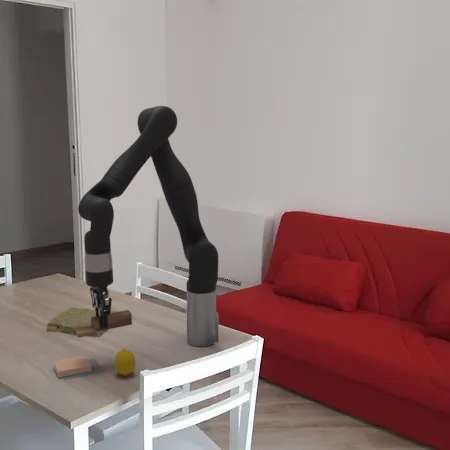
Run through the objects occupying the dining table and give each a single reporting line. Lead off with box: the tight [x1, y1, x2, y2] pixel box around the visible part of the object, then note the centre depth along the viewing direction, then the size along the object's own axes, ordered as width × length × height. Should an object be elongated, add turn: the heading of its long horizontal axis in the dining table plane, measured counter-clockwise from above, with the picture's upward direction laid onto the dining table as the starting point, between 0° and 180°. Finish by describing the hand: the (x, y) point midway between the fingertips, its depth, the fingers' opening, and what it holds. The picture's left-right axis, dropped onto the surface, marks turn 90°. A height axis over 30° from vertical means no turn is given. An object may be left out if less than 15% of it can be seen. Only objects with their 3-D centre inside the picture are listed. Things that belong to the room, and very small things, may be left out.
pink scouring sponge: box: [53, 355, 92, 379], centre depth 163 cm, size 2×7×9 cm
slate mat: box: [63, 357, 105, 381], centre depth 164 cm, size 11×10×1 cm
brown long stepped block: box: [73, 309, 133, 338], centre depth 165 cm, size 6×16×4 cm, turn 118°
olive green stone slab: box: [45, 306, 119, 338], centre depth 198 cm, size 19×20×4 cm
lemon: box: [114, 348, 136, 377], centre depth 160 cm, size 6×6×8 cm
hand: (102, 325), depth 165 cm, fingers closed on brown long stepped block, 3 cm apart
